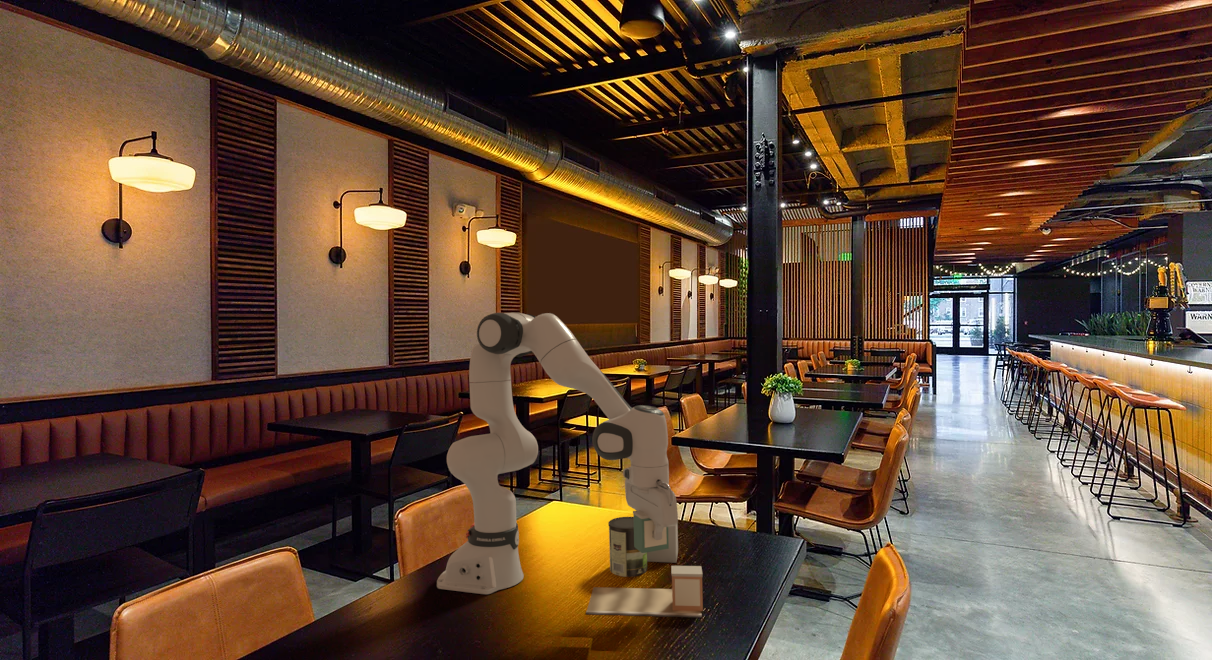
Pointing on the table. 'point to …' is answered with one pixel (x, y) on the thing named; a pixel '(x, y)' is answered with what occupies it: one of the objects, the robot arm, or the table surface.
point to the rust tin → (687, 588)
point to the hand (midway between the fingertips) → (651, 535)
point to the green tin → (647, 534)
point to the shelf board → (635, 602)
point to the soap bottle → (666, 554)
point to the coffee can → (625, 549)
